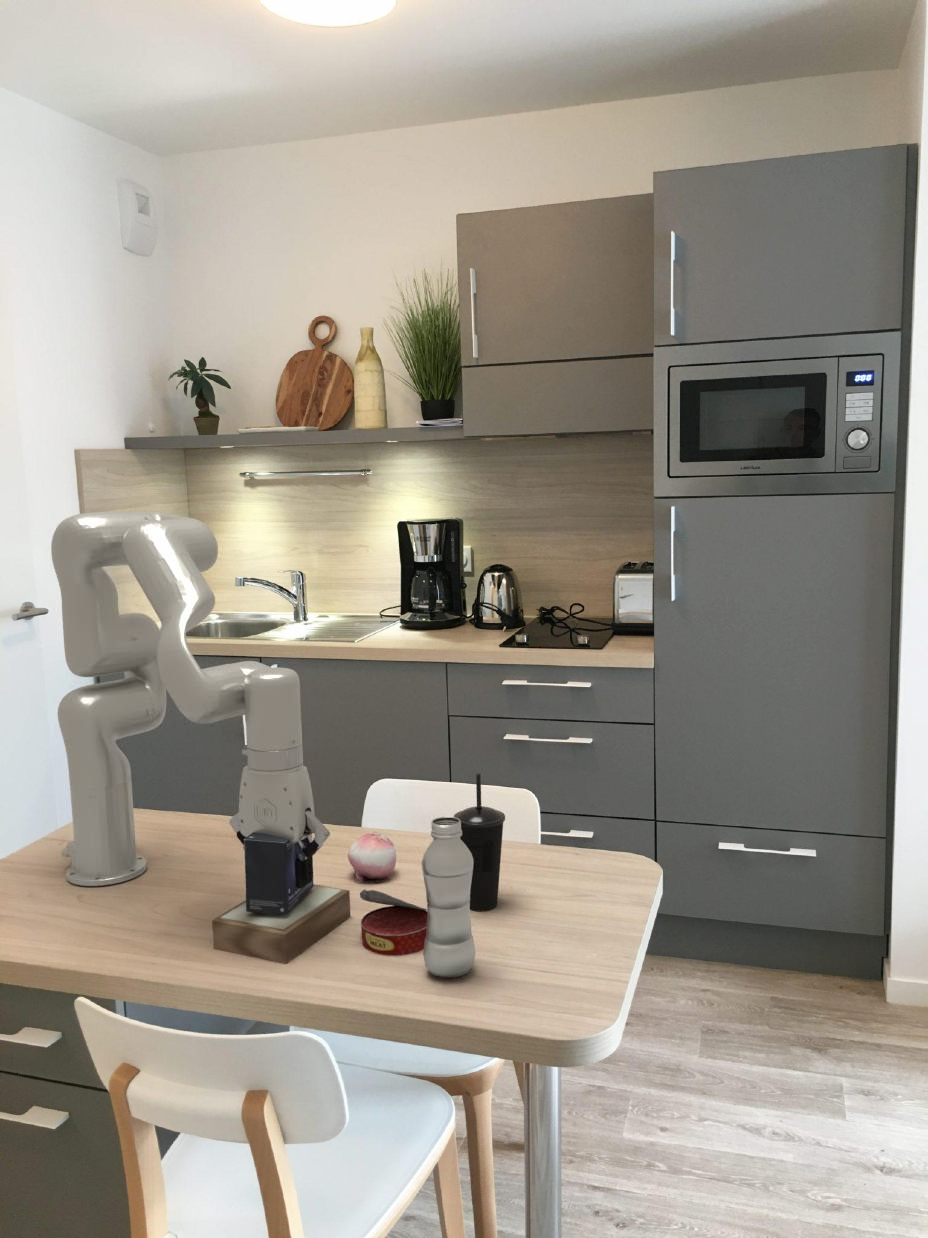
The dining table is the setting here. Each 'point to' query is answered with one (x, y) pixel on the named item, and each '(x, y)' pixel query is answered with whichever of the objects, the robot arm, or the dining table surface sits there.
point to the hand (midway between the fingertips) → (280, 880)
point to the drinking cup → (483, 850)
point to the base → (282, 926)
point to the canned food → (393, 926)
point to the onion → (372, 857)
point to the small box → (271, 874)
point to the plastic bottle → (448, 900)
